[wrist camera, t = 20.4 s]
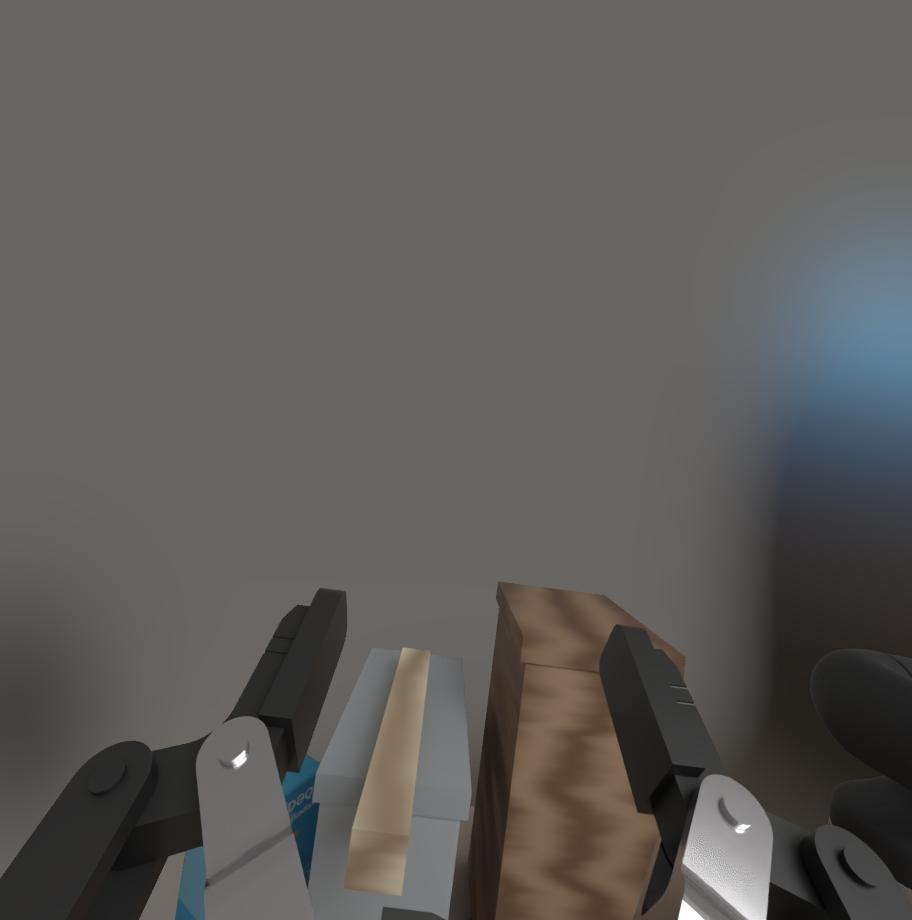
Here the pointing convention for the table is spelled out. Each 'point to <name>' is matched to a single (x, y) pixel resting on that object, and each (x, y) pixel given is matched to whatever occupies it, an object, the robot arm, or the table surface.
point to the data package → (304, 829)
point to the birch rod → (390, 785)
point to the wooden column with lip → (555, 768)
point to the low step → (435, 797)
